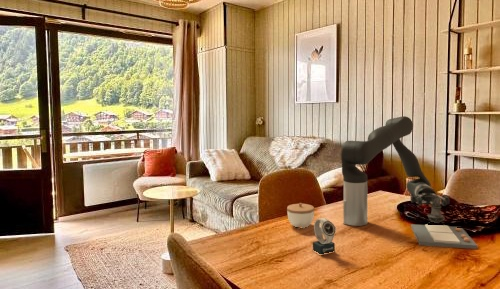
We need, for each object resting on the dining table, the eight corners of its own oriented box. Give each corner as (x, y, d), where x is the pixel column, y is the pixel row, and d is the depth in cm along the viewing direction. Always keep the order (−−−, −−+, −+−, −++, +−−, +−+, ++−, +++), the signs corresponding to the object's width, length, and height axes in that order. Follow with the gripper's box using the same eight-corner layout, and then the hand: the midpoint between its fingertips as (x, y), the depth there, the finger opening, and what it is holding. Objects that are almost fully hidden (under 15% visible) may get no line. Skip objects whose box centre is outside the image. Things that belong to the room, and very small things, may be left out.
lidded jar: (314, 222, 146) (314, 199, 145) (314, 231, 136) (314, 207, 135) (288, 221, 148) (287, 199, 147) (286, 230, 138) (285, 206, 137)
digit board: (419, 245, 119) (419, 238, 119) (411, 227, 136) (411, 221, 136) (477, 249, 114) (477, 242, 114) (461, 230, 131) (461, 224, 131)
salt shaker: (447, 227, 135) (448, 196, 134) (431, 227, 135) (432, 196, 134) (439, 222, 141) (440, 192, 140) (424, 222, 141) (425, 193, 140)
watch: (324, 258, 111) (323, 224, 110) (309, 249, 118) (309, 217, 117) (338, 254, 113) (338, 221, 112) (323, 246, 121) (323, 214, 120)
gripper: (407, 185, 160) (413, 193, 144) (442, 186, 156) (452, 194, 140) (407, 201, 161) (413, 211, 145) (442, 202, 157) (452, 213, 141)
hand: (432, 203), depth 143 cm, fingers open, 8 cm apart
